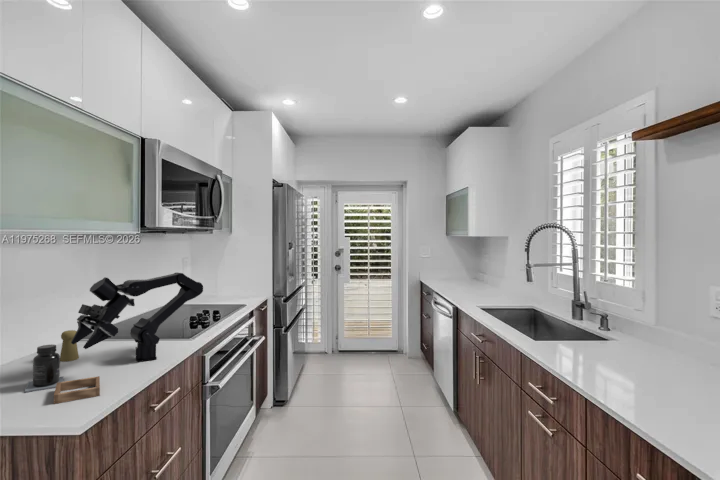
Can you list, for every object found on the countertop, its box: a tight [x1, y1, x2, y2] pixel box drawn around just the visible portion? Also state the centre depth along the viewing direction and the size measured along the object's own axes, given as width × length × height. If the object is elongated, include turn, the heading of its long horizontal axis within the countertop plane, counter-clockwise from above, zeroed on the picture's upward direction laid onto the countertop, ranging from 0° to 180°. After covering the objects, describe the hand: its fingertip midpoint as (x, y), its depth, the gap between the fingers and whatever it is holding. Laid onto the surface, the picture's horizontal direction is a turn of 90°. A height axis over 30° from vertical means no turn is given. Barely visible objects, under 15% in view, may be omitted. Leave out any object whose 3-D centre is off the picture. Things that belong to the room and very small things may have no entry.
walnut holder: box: [53, 375, 101, 405], centre depth 119 cm, size 11×11×2 cm
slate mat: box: [24, 376, 65, 393], centre depth 125 cm, size 9×9×1 cm
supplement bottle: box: [32, 344, 61, 387], centre depth 125 cm, size 7×7×12 cm
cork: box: [59, 329, 80, 363], centre depth 150 cm, size 6×6×11 cm
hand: (78, 345), depth 133 cm, fingers open, 9 cm apart
